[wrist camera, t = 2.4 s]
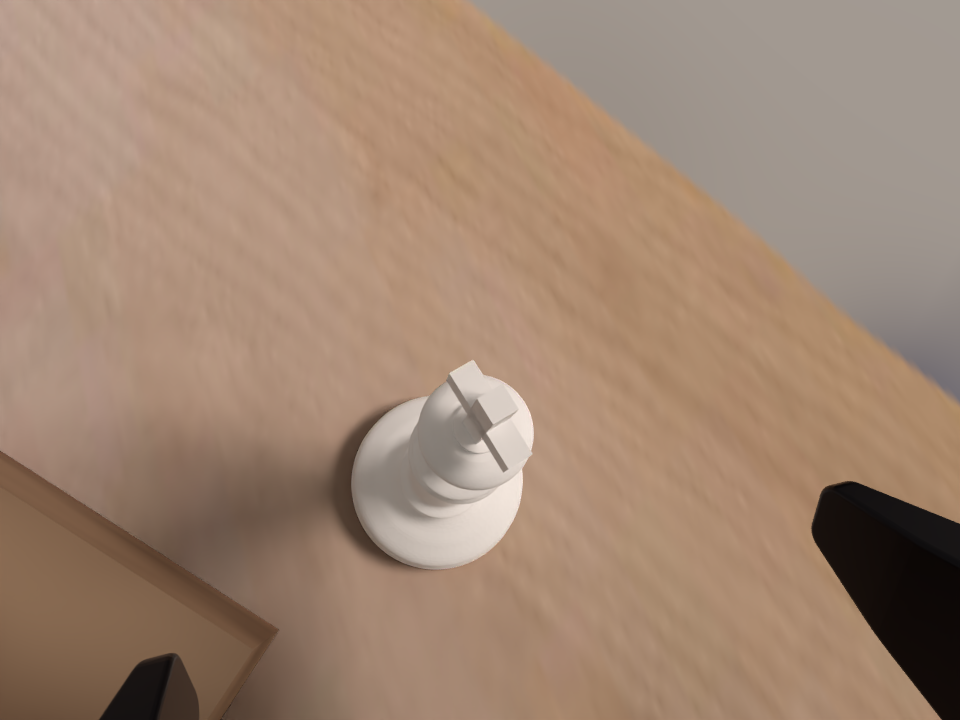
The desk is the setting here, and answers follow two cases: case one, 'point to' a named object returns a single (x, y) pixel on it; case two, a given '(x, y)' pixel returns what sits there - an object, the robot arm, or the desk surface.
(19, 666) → the walnut block
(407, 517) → the chess piece
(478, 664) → the desk surface
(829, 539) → the robot arm
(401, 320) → the desk surface
